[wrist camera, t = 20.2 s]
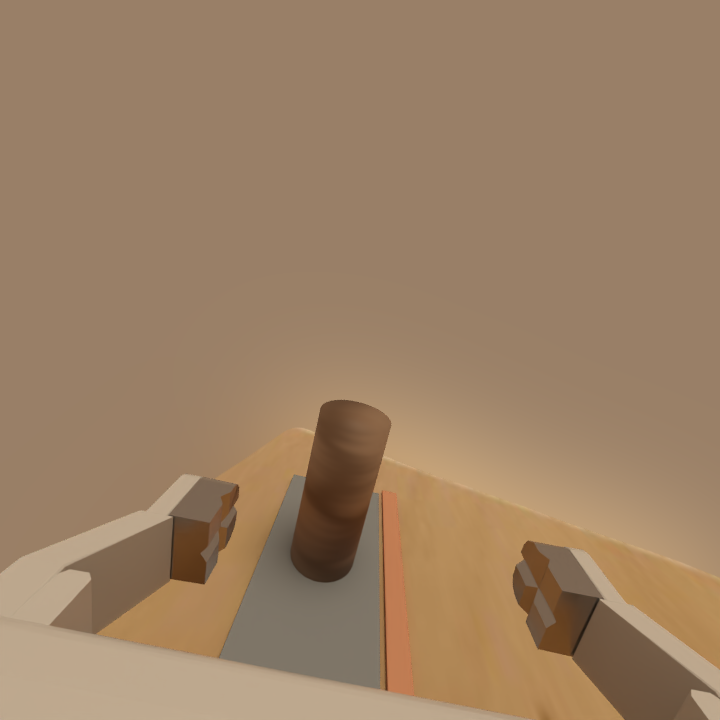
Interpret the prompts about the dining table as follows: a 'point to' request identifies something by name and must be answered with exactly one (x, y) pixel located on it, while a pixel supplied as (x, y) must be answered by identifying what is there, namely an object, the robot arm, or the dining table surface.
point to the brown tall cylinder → (338, 488)
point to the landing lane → (327, 607)
